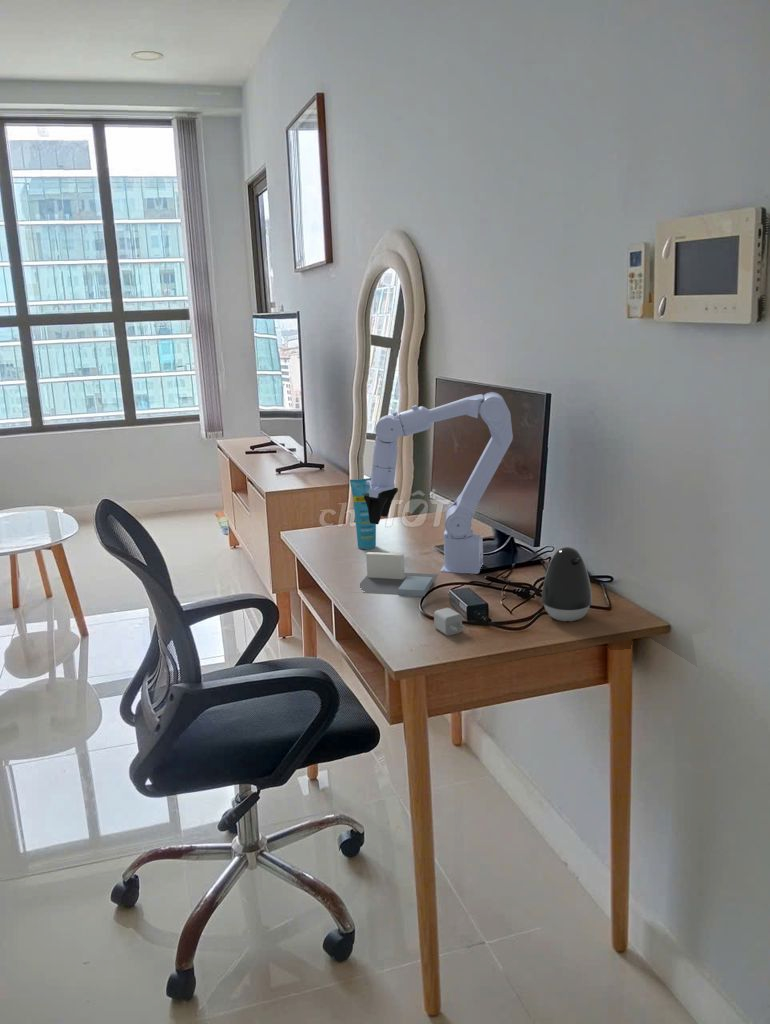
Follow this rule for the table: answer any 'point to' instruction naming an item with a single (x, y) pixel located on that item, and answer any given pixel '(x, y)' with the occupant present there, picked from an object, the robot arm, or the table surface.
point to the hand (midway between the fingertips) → (378, 519)
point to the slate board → (415, 586)
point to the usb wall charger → (448, 621)
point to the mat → (387, 584)
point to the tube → (363, 515)
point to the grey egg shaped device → (567, 586)
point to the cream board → (385, 565)
